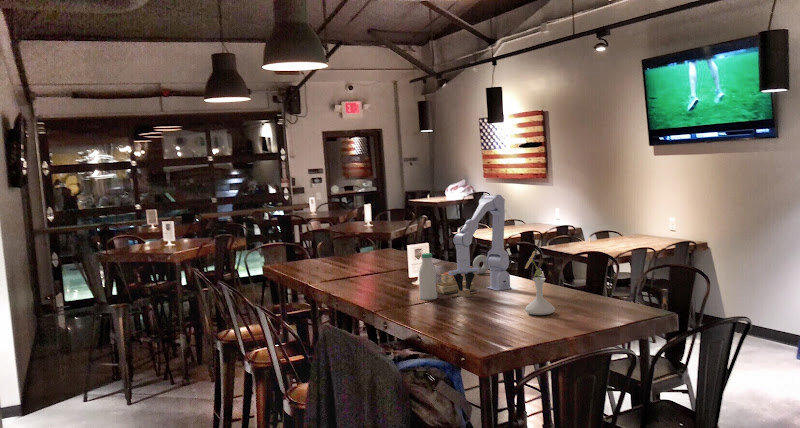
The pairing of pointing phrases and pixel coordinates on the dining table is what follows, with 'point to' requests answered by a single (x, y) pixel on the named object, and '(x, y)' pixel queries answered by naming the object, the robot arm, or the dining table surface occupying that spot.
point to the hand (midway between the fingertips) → (464, 289)
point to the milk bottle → (427, 278)
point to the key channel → (446, 278)
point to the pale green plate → (464, 292)
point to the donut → (478, 260)
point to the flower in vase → (538, 295)
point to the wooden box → (451, 287)
